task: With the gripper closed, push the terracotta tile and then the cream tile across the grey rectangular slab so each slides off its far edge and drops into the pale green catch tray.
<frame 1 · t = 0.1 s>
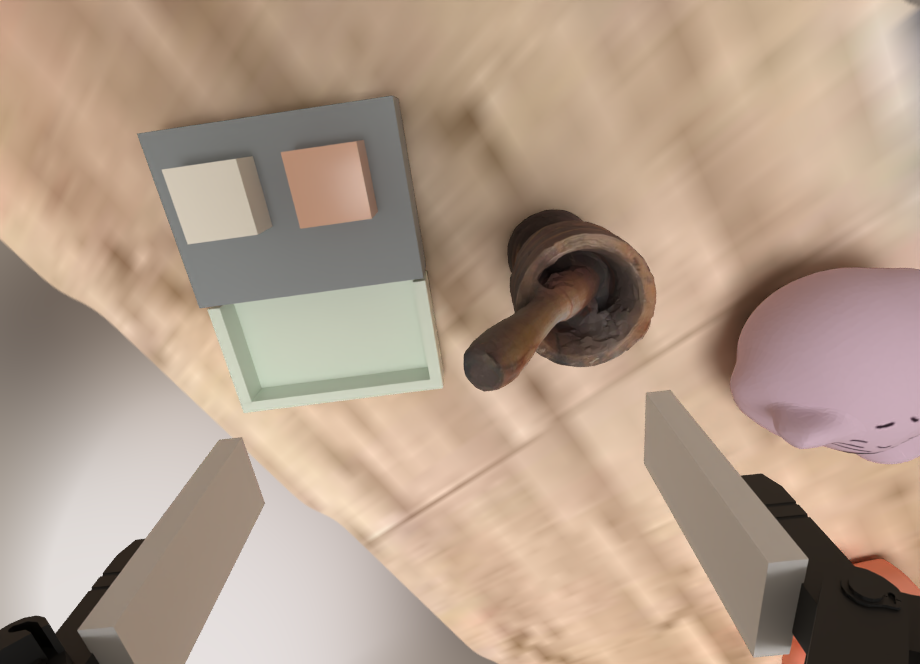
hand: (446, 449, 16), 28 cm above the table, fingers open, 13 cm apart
mortar and pestle: (531, 261, 43), on the table
tile terracotta: (337, 181, 36), point 4 cm above the table, touching grey rectangular slab
catch tray: (336, 331, 45), on the table
toy: (789, 333, 46), on the table
tile cream: (229, 197, 36), point 4 cm above the table, touching grey rectangular slab
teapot: (802, 608, 60), on the table
grey rectangular slab: (303, 202, 40), on the table
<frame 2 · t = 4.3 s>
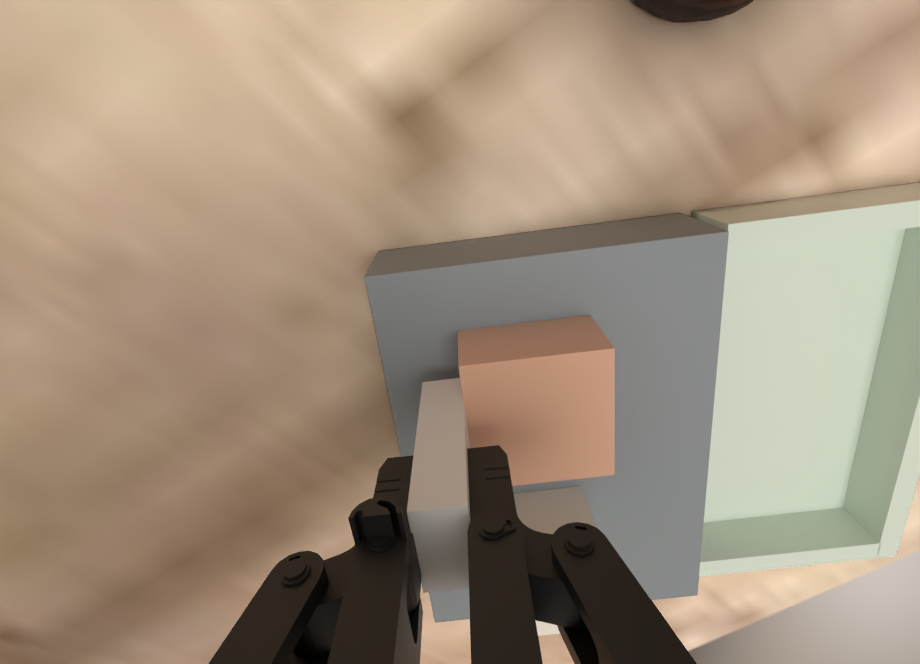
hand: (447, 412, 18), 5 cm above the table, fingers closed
tile terracotta: (528, 381, 20), point 4 cm above the table, touching gripper
catch tray: (773, 383, 24), on the table
tile cream: (527, 535, 23), point 4 cm above the table, touching grey rectangular slab
grey rectangular slab: (540, 410, 25), on the table
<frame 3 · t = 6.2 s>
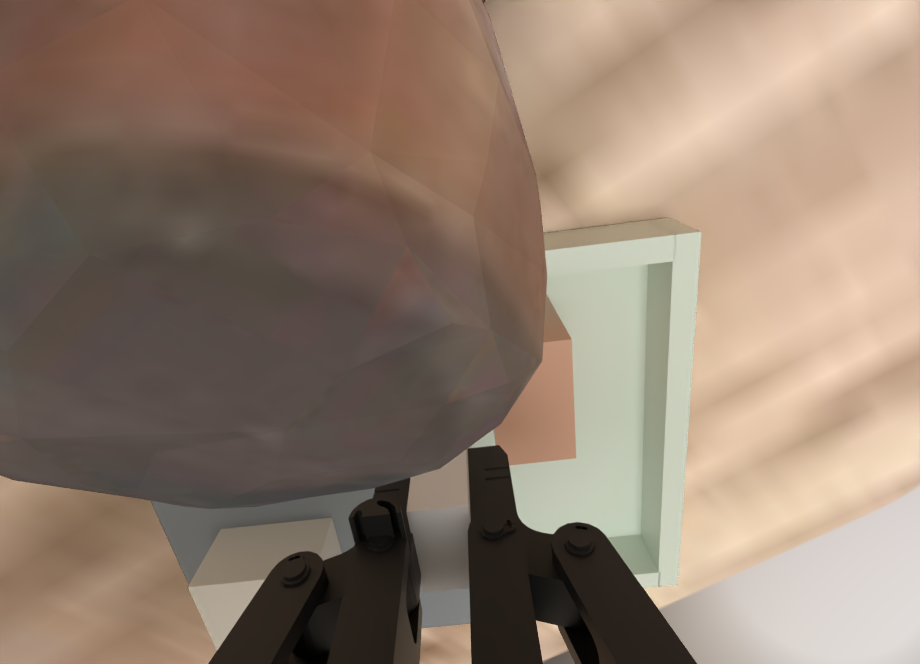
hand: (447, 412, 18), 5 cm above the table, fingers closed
mortar and pestle: (416, 0, 18), on the table
tile terracotta: (487, 378, 20), point 3 cm above the table, tilted 90°, touching catch tray
catch tray: (551, 413, 25), on the table
tile cream: (290, 564, 23), point 4 cm above the table, touching grey rectangular slab
grey rectangular slab: (323, 438, 25), on the table
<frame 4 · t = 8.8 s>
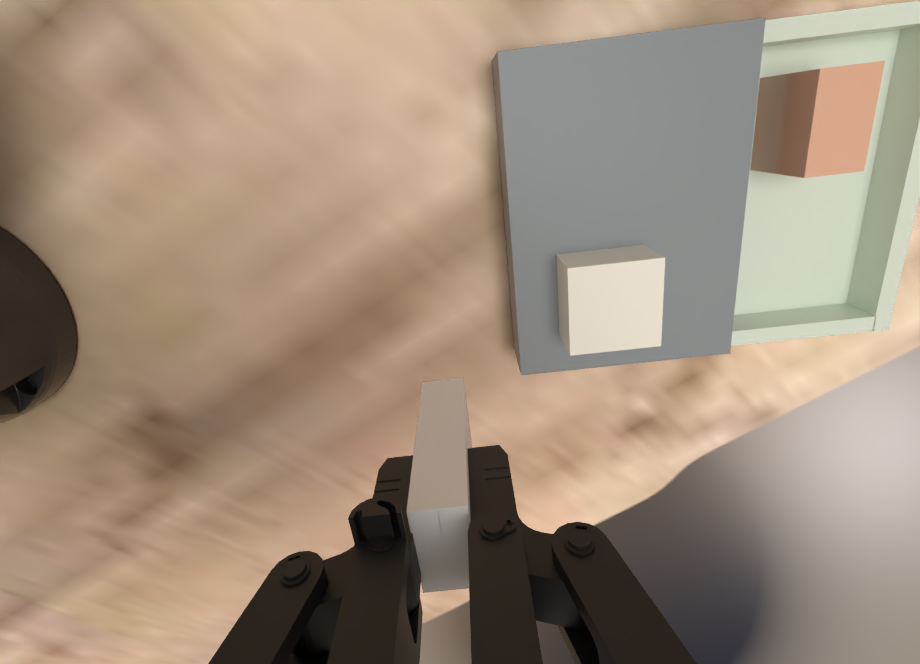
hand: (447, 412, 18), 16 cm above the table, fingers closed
tile terracotta: (781, 125, 27), point 3 cm above the table, tilted 90°, touching catch tray
catch tray: (792, 187, 31), on the table
tile cream: (600, 291, 29), point 4 cm above the table, touching grey rectangular slab
grey rectangular slab: (606, 209, 31), on the table
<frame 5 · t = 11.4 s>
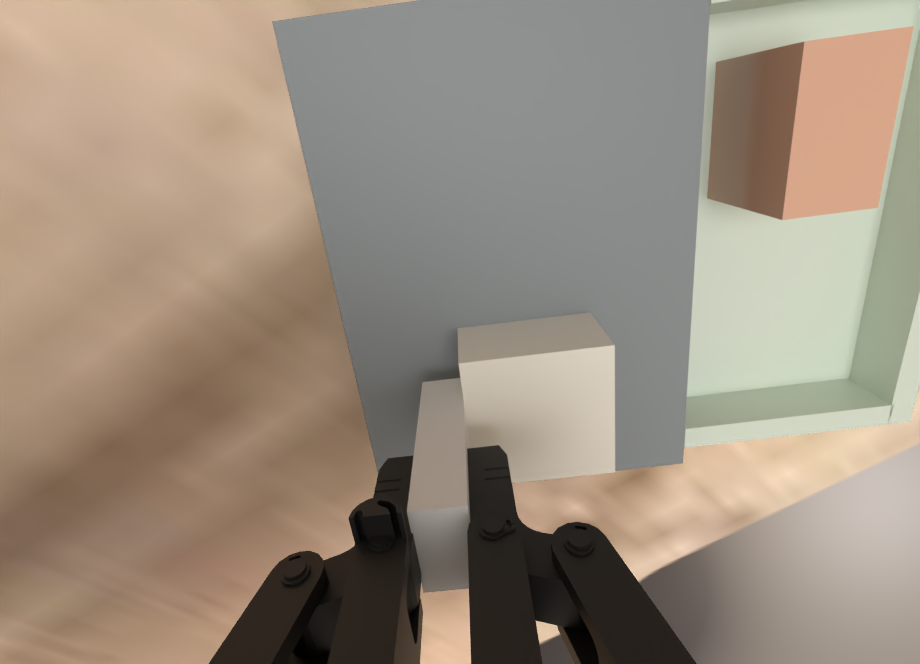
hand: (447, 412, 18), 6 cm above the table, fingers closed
tile terracotta: (746, 134, 17), point 3 cm above the table, tilted 90°, touching catch tray
catch tray: (769, 221, 21), on the table
tile cream: (528, 378, 20), point 4 cm above the table, touching grey rectangular slab
grey rectangular slab: (503, 255, 22), on the table
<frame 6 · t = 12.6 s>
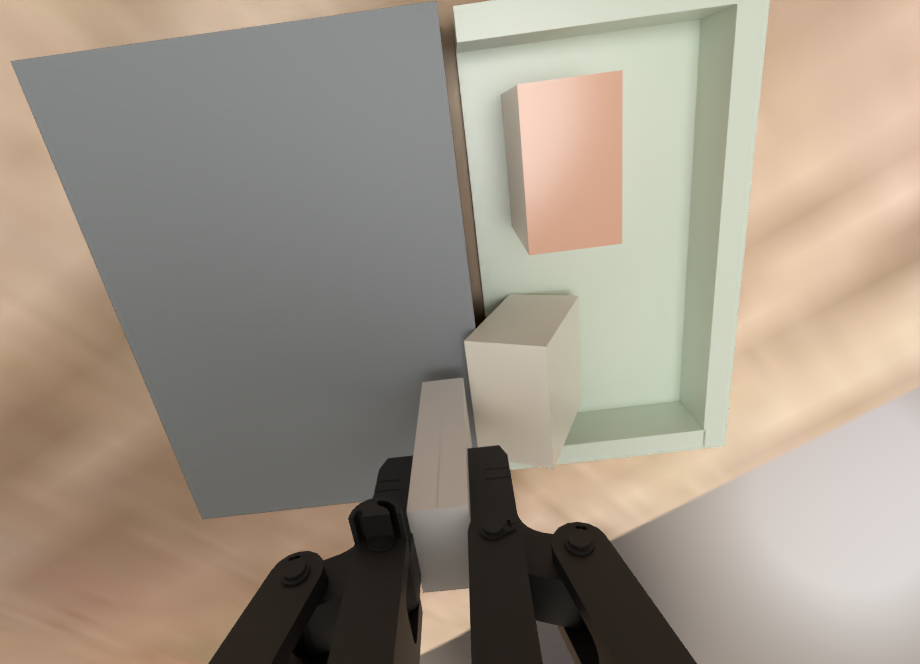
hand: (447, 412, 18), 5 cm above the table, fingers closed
tile terracotta: (513, 168, 17), point 3 cm above the table, tilted 90°, touching catch tray
catch tray: (581, 248, 22), on the table
tile cream: (495, 370, 21), point 3 cm above the table, tilted 65°
grey rectangular slab: (321, 280, 22), on the table
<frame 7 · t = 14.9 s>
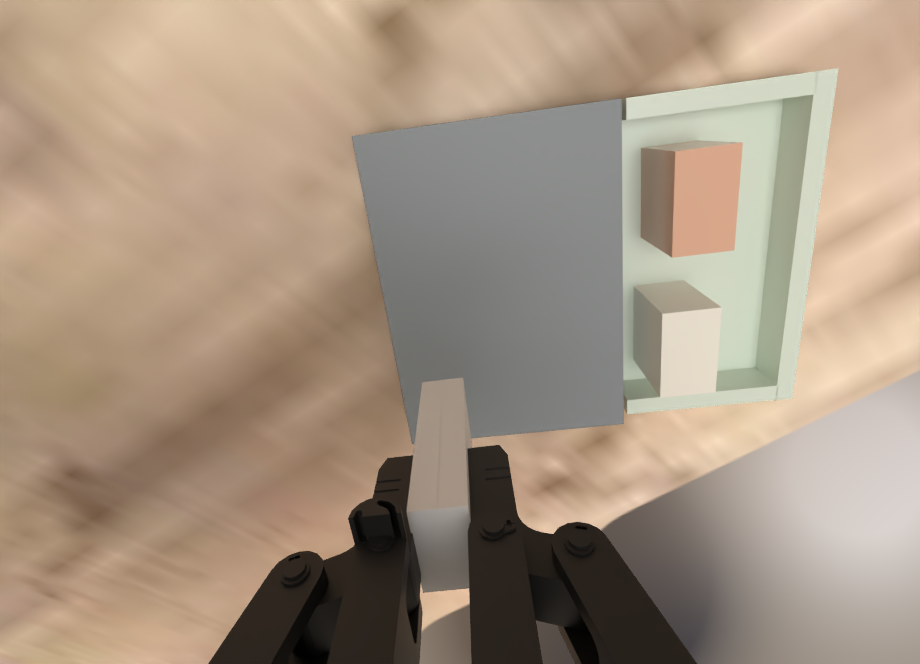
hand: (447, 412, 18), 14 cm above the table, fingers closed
tile terracotta: (655, 199, 26), point 3 cm above the table, tilted 90°, touching catch tray
catch tray: (688, 253, 30), on the table
tile cream: (646, 339, 29), point 3 cm above the table, tilted 90°, touching catch tray
grey rectangular slab: (498, 275, 31), on the table
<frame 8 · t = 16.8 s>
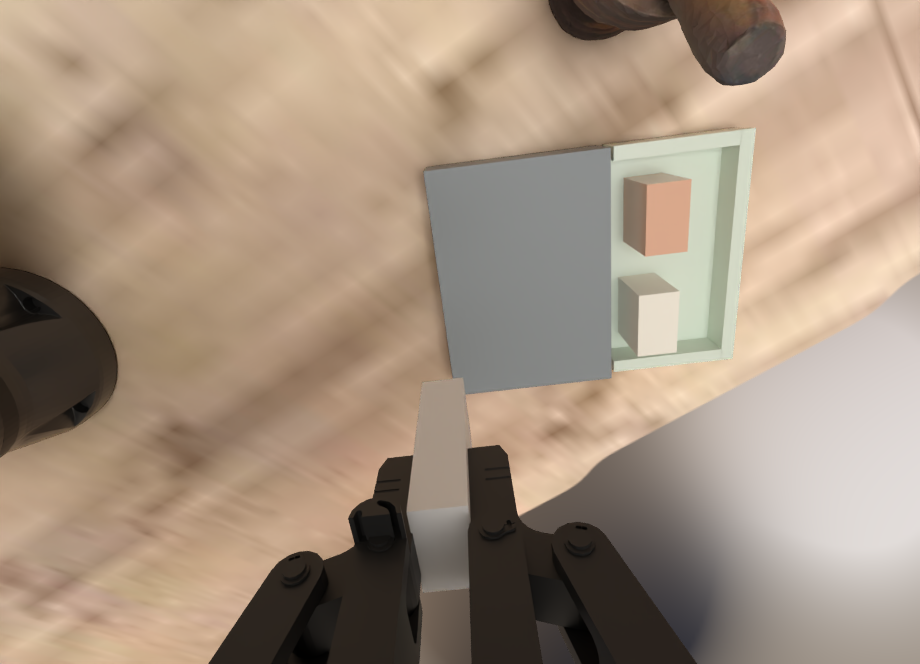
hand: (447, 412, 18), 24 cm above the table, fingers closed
mortar and pestle: (606, 6, 34), on the table
tile terracotta: (634, 215, 37), point 3 cm above the table, tilted 90°, touching catch tray
catch tray: (657, 252, 41), on the table
tile cream: (627, 315, 40), point 3 cm above the table, tilted 90°, touching catch tray
grey rectangular slab: (519, 269, 41), on the table
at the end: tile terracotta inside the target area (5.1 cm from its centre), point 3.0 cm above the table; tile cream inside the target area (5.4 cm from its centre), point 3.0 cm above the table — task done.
